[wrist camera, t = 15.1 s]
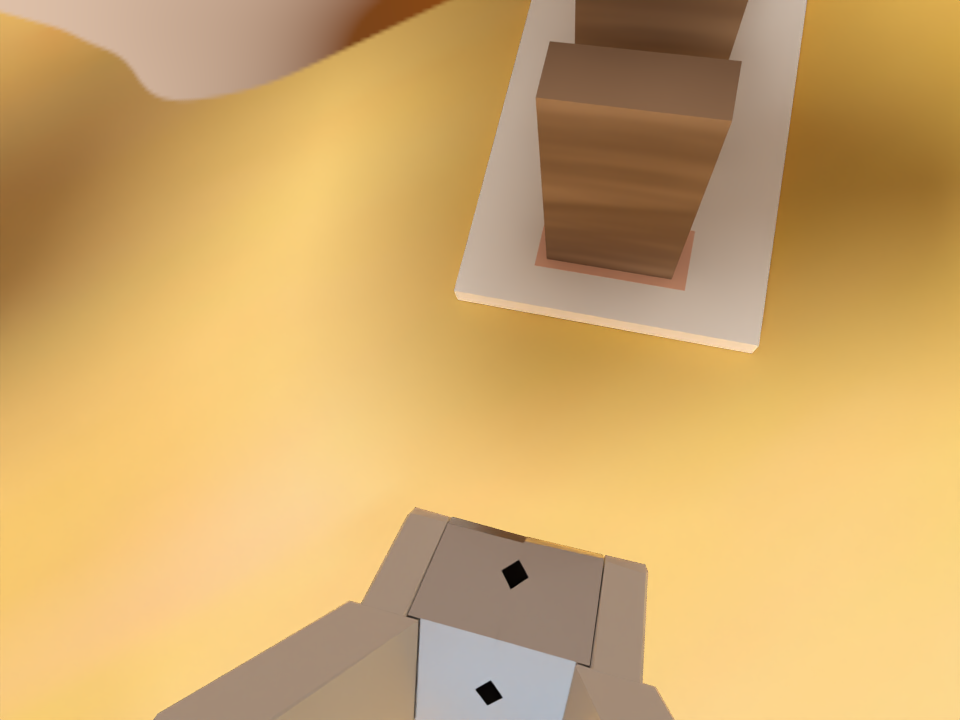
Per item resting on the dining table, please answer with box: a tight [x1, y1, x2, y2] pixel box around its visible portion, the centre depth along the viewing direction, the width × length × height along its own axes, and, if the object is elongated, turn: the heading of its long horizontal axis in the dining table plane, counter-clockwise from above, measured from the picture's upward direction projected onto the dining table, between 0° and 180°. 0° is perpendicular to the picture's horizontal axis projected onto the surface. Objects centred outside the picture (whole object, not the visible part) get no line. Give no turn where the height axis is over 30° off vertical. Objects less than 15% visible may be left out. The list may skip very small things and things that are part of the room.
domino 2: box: [536, 41, 742, 280], centre depth 22 cm, size 2×5×10 cm, turn 77°
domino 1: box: [575, 0, 748, 60], centre depth 23 cm, size 2×5×10 cm, turn 76°
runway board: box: [454, 0, 807, 353], centre depth 30 cm, size 12×26×1 cm, turn 167°
